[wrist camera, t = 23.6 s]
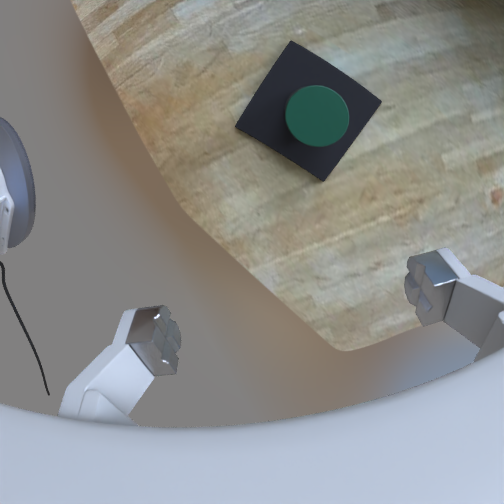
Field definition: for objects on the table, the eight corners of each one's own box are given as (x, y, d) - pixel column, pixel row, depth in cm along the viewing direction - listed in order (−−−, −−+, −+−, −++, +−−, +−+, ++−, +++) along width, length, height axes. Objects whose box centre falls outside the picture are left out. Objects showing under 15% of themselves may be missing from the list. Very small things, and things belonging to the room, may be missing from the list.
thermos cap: (317, 144, 31) (327, 162, 23) (275, 117, 30) (269, 125, 22) (345, 105, 28) (364, 109, 20) (302, 77, 27) (306, 70, 19)
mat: (323, 180, 33) (323, 182, 33) (235, 126, 31) (234, 126, 31) (381, 101, 27) (382, 101, 27) (290, 40, 25) (290, 40, 25)
